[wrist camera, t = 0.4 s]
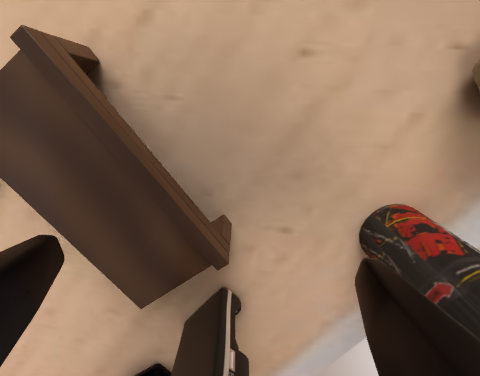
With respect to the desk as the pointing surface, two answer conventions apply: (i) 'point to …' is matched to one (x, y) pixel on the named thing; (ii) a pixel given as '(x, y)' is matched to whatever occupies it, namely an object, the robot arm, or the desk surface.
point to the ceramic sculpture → (477, 74)
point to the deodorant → (427, 260)
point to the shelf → (97, 174)
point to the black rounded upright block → (212, 340)
